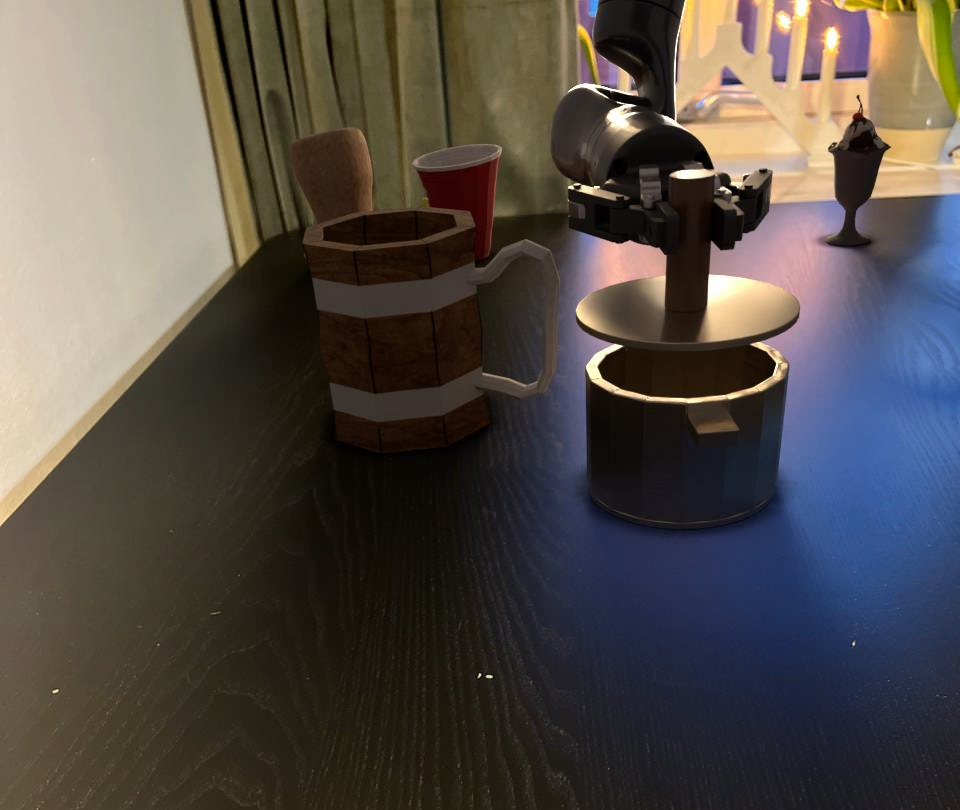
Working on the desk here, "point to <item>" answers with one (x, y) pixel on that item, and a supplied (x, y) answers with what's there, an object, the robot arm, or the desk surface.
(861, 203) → the sundae
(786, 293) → the lid
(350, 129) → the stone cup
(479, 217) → the plastic cup
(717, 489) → the pot
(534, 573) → the desk surface
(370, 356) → the mug
